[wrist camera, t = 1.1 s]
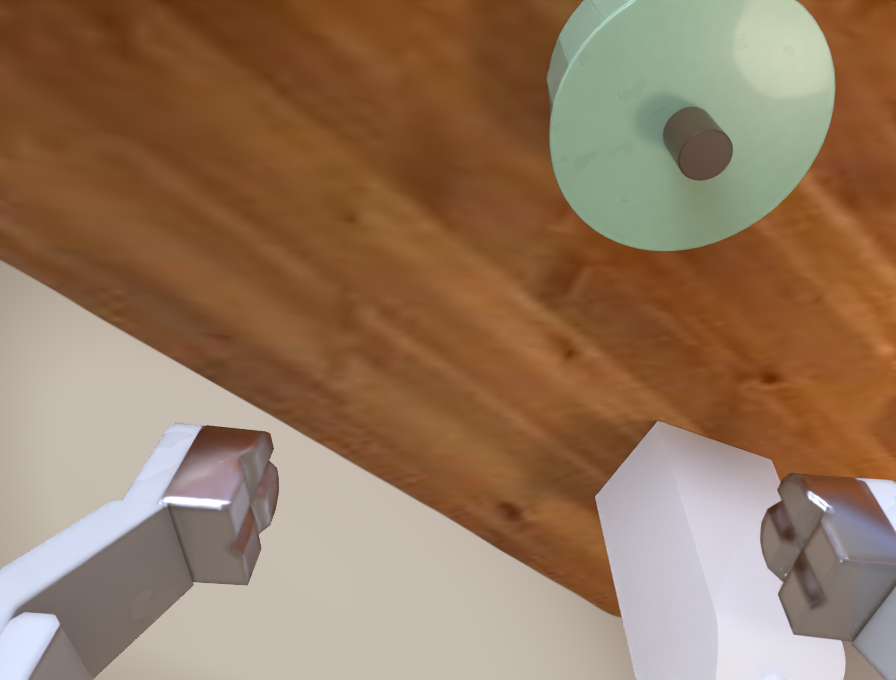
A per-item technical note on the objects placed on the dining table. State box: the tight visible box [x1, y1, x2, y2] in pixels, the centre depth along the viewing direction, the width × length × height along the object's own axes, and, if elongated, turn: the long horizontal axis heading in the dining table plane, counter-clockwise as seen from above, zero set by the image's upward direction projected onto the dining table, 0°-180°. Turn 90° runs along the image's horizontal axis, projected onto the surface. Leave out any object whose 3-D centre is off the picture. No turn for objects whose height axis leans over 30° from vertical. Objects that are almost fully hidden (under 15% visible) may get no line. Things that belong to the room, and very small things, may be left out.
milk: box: [595, 421, 845, 680], centre depth 51 cm, size 12×12×26 cm
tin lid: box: [549, 0, 835, 251], centre depth 31 cm, size 14×14×5 cm
